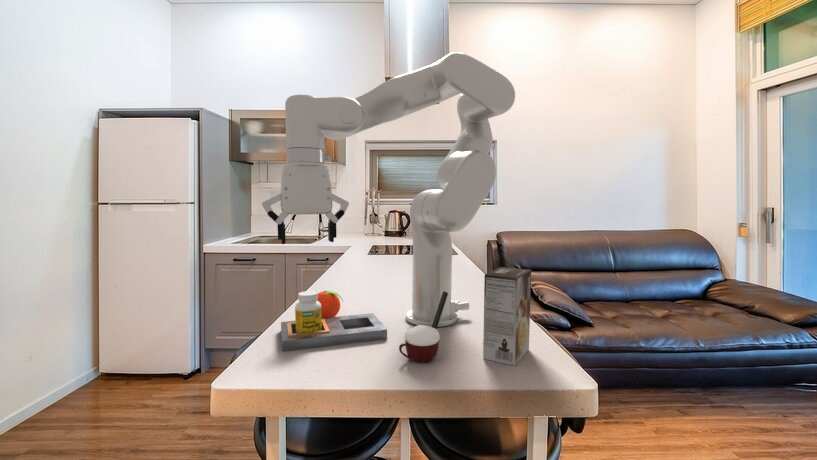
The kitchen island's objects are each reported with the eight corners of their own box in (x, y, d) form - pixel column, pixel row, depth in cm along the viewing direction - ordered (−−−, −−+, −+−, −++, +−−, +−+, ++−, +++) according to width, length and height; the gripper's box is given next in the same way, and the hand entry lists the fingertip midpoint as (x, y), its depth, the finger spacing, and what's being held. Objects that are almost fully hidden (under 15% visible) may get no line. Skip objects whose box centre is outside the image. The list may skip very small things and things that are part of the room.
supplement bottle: (316, 331, 84) (316, 288, 84) (325, 338, 80) (325, 294, 79) (292, 336, 81) (291, 292, 81) (300, 344, 77) (299, 297, 76)
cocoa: (399, 367, 68) (396, 302, 66) (399, 352, 74) (397, 292, 72) (452, 365, 68) (451, 300, 66) (448, 350, 74) (447, 290, 72)
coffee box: (498, 343, 78) (500, 266, 77) (529, 350, 75) (532, 269, 74) (481, 359, 70) (483, 273, 69) (516, 367, 67) (519, 277, 66)
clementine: (348, 316, 96) (348, 288, 95) (338, 325, 89) (338, 295, 88) (318, 314, 97) (318, 286, 96) (306, 322, 90) (306, 293, 90)
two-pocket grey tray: (373, 321, 92) (373, 311, 91) (387, 338, 80) (387, 328, 80) (281, 330, 84) (280, 320, 84) (282, 351, 73) (282, 339, 73)
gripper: (344, 162, 84) (345, 239, 86) (261, 159, 78) (263, 242, 80) (351, 158, 77) (352, 242, 79) (260, 155, 71) (263, 246, 73)
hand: (307, 242), depth 79 cm, fingers open, 9 cm apart
